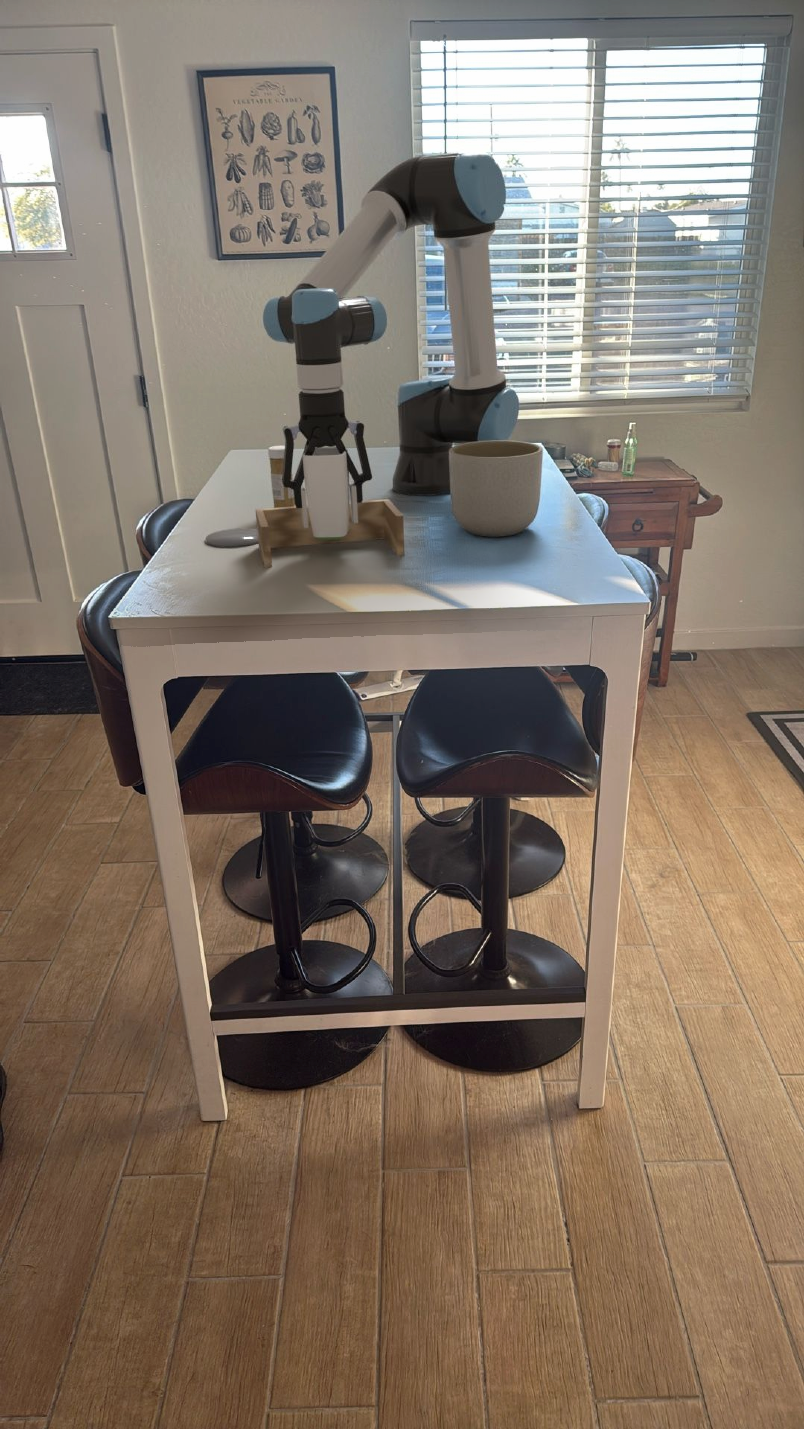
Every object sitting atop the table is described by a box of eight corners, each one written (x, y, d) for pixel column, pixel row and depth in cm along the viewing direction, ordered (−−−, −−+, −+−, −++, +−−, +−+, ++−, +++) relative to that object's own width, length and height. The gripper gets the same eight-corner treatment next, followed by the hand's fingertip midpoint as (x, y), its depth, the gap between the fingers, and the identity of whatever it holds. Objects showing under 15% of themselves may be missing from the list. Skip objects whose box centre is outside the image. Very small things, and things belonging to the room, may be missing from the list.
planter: (548, 521, 192) (551, 441, 185) (529, 545, 177) (531, 459, 171) (463, 517, 197) (463, 438, 191) (438, 539, 183) (437, 455, 176)
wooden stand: (389, 536, 186) (388, 499, 183) (404, 555, 174) (403, 515, 171) (258, 547, 181) (255, 509, 178) (264, 567, 170) (261, 527, 167)
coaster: (262, 529, 193) (262, 526, 192) (267, 544, 183) (267, 541, 183) (205, 534, 191) (204, 531, 190) (207, 549, 181) (206, 546, 181)
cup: (307, 542, 173) (300, 456, 167) (313, 531, 180) (307, 447, 173) (349, 541, 173) (343, 455, 166) (353, 530, 179) (348, 446, 173)
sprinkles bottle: (299, 514, 203) (294, 447, 197) (279, 517, 201) (274, 450, 195) (289, 509, 207) (284, 443, 201) (269, 513, 204) (264, 446, 199)
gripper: (378, 382, 170) (384, 513, 180) (256, 390, 167) (269, 523, 177) (386, 388, 164) (392, 523, 174) (259, 397, 160) (272, 534, 170)
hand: (330, 523), depth 175 cm, fingers closed on cup, 8 cm apart
